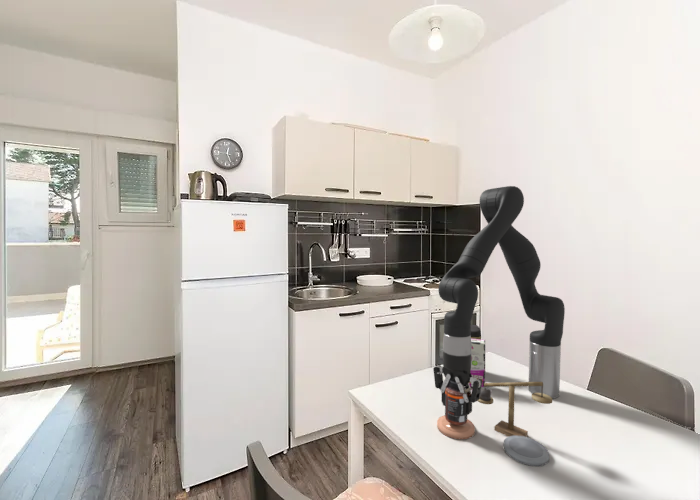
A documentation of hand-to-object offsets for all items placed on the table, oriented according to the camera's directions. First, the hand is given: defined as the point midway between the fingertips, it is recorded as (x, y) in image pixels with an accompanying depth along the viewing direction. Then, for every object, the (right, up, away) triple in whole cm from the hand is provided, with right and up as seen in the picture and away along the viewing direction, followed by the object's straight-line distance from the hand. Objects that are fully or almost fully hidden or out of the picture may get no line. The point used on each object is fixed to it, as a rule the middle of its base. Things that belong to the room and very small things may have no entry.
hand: (456, 409), depth 93 cm
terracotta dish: (0, -5, 0) cm, 5 cm away
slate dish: (+14, -6, -10) cm, 18 cm away
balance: (+14, -6, -2) cm, 16 cm away
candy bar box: (+13, -4, +28) cm, 31 cm away
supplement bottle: (0, -3, 0) cm, 3 cm away
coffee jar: (+17, -4, +39) cm, 42 cm away
